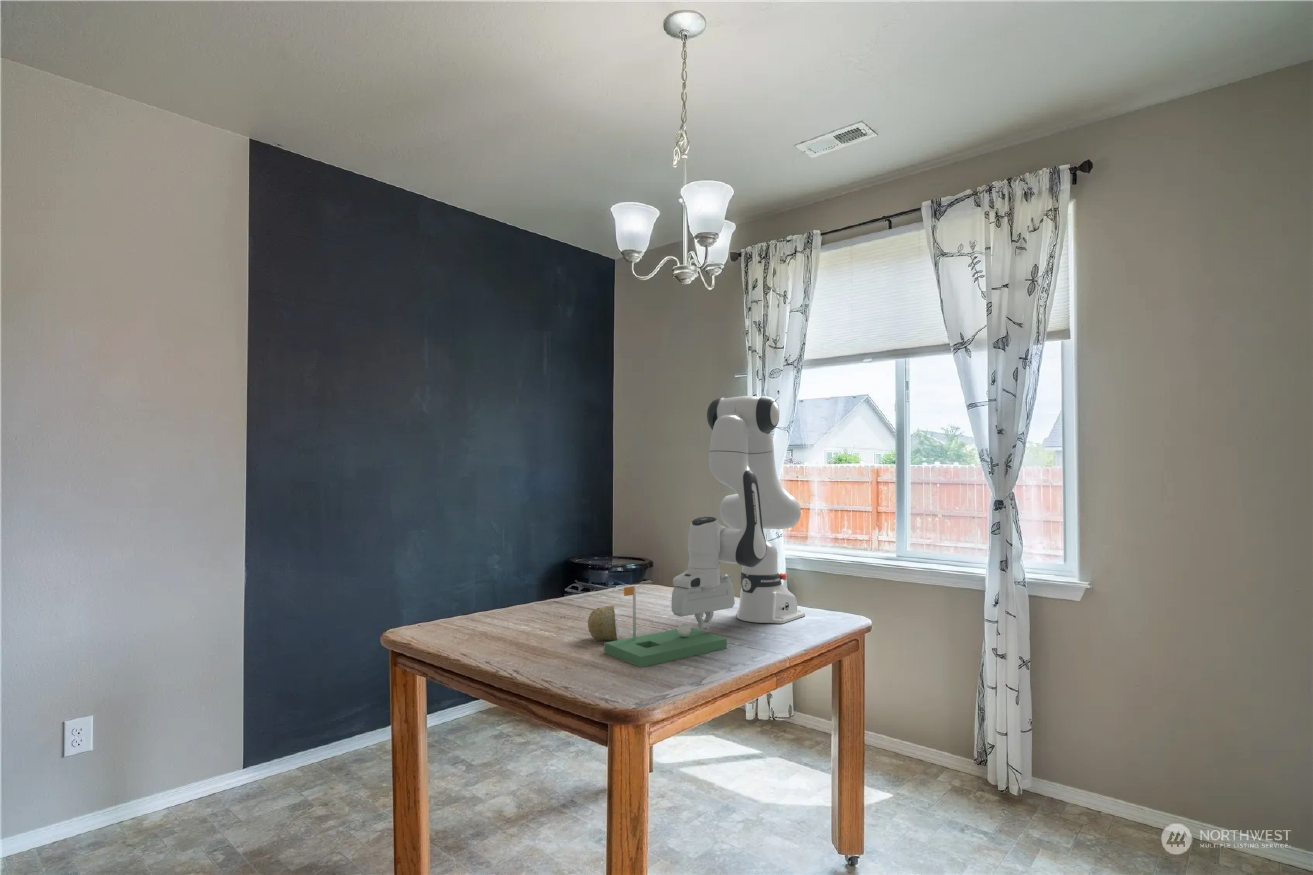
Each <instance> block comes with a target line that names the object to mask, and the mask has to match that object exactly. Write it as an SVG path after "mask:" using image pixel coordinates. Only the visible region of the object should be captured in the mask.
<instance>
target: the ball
mask: <svg viewBox="0 0 1313 875" xmlns="http://www.w3.org/2000/svg"><path fill="white" fill-rule="evenodd" d="M691 628H692V627H691V626H690V624H688V623H686V622H685V623H681V624H679V625H678V626H677V628H676V629H677V631H678V634H679V635H680V636H681V637H687V636H689V635H690V633H691Z"/></svg>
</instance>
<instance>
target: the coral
mask: <svg viewBox="0 0 1313 875" xmlns="http://www.w3.org/2000/svg"><path fill="white" fill-rule="evenodd" d="M587 628H588V632H589V634H590V635H591V637H592V639H594V641H598V642H604V641H616V640H619V629H618V628H619V627H618V622H617V617H616V613H615V605H607V606H603V607H597V608H595V609H593V610H592V611H591V612H590V615H589V616H588V619H587Z"/></svg>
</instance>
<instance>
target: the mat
mask: <svg viewBox="0 0 1313 875" xmlns="http://www.w3.org/2000/svg"><path fill="white" fill-rule="evenodd" d="M627 596H629V597H630V596H632V637H629V638H623V639H618V640H610V641H607V642H604V643H603V644H604V653H605V654H608V655H609V656H612V657H614V658H617V659H619V660H622V661H624V662H627V663H629V664H632V665H634V666H636V667H639V668H645V667H649V666H654V665H659V664H663V663H666V662H667V663H669V662H670V661H676V660H681V659H685V658H688V657H694V656H699V655H703V654H707V653H711V652H716V651H720V650H725V649H727V648H728V638H726V637H723V636H719V635H715V634H714V633H713V634H712V633H710V632H705V631H703V630H701V629H697V628H692V627H690V628H691V633H690V635H689V636H687V637H681V636H680V635H679V634H678V631H677V629H678V628H675V629H671V630H663V631H659V632H654V633H650V634H648V633H647V634H643V635H639V636H637V635H636V634H637V586H636V585H631V586H625V587H623V597H627Z"/></svg>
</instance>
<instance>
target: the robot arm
mask: <svg viewBox="0 0 1313 875" xmlns="http://www.w3.org/2000/svg"><path fill="white" fill-rule="evenodd" d="M706 421H707V423H708V424H707V425H708V426H709V428H710V429H711V431H712V432H711V435H710V436H711V437H710V444H709V452H708V453H709V455H708V465H709V472H710V473H711V475H712V476H713V478H715V479H716V481H718V482H719V483H720V484H722V485H724V486H726V487H728V488H730V489H731V490H733V491H734V492H735V493H734V494H729V495H726V496H724V497H723V499H722V500H721V502H720V505H719V514H720V515H719V516H720V518H721V520H722V522H723V523H724V524H725V525H727V526H724V525H722V524H720V523H719V520H718V518H717V517H714V516H701V517H696V518H694V519H693V520H691V522H690V525H689V528H688V534H687V538H688V540H687V551H688V558H689V559H688V563H687V569H686V570H685V571H684V572H682V573H680V574H678V575H676V576H675V577H673V579H672V584H673V586H675V587H674V588H673V589H672V591H671V592H672V593H671V605H670V606H671V612H672V614H673V615H674V616H676V617H681V618H682V617H688V616H693V615H694V618H695V620H696V622H697V628H698V630H700V631H703V630H707V629H710V628H711V622H712V619H713V617H714V612H716V611H720V610H721V611H722V610H727V609H728V610H729V609H733V607H734V606H735V602H736V600H735V591H734V590H735V589H734V586H733V578H732V576H730V575H729V574H728V573H727V574H721V563H720V562H722V563H727V564H735V565H740V566H741V572H740V585H741V589H740V595H739V603H738V604H739V605H738V609H737V612H736V613H737V614H736V619H739V620H741V621H743V622H749V623H759V624H760V623H761V624H762V623H763V624H785V623H787V622H790V621H793V620H798V619H800V618H803V617H806V613H805V611H802V610H799V609H798V602H797V598H796V596H795V595H794V594H793V593H792V592H790V590H789V589H787V588H786V587H785V586H784V585H783V583H782V580H783V581H786V580H787V579H788V575H787V574H786V573H782V572H781V573H779V572H778V550H777V547H776V546H775V544H773V543H772V542H771V541H769V540H767V539H766V537H765V533H764V529H765V530H783V529H789V528H794V527H795V526H796V525H797V524H798V522H799V521H800V518H801V513H802V510H801V506H800V503H799V501H798V500H797V499H796V497H794V496H793V495H791V493H789V492H788V491H787V490H786V489H785V488H784V486H783V485H782V483H781V482H780V479H779V477H778V474H777V470H776V469H777V468H776V461H775V449H774V440H773V433H772V431H774V430H775V429H776V428H777V426H778V424H779V422H780V408H779V404H778V402H777V401H776V400H775V399H774V398H773V397H769V396H766V395H761V396H758V395H757V396H756V395H755V396H754V395H742V396H733V397H719V398H717V399H716V398H715V399H714V400H712V401H711V403H710V404H709V405H708V407H707V409H706ZM704 615H705V617H704ZM703 617H704V619H703Z"/></svg>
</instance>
